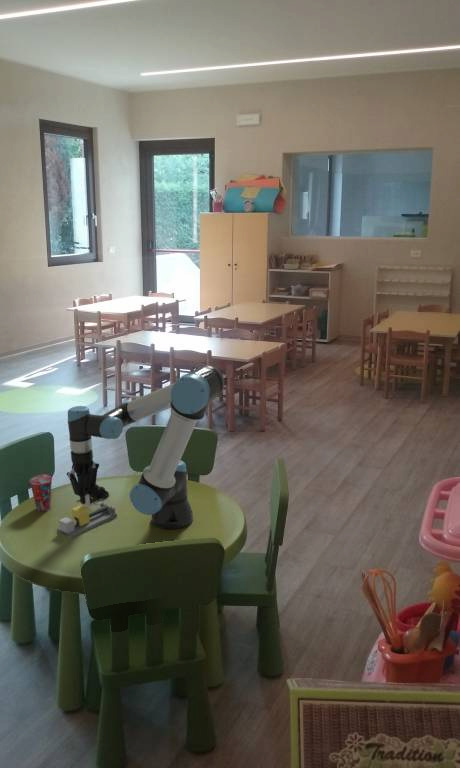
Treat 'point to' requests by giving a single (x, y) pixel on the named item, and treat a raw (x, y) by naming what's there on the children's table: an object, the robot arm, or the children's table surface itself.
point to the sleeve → (81, 514)
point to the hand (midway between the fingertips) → (86, 510)
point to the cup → (42, 491)
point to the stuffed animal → (99, 494)
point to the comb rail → (96, 518)
